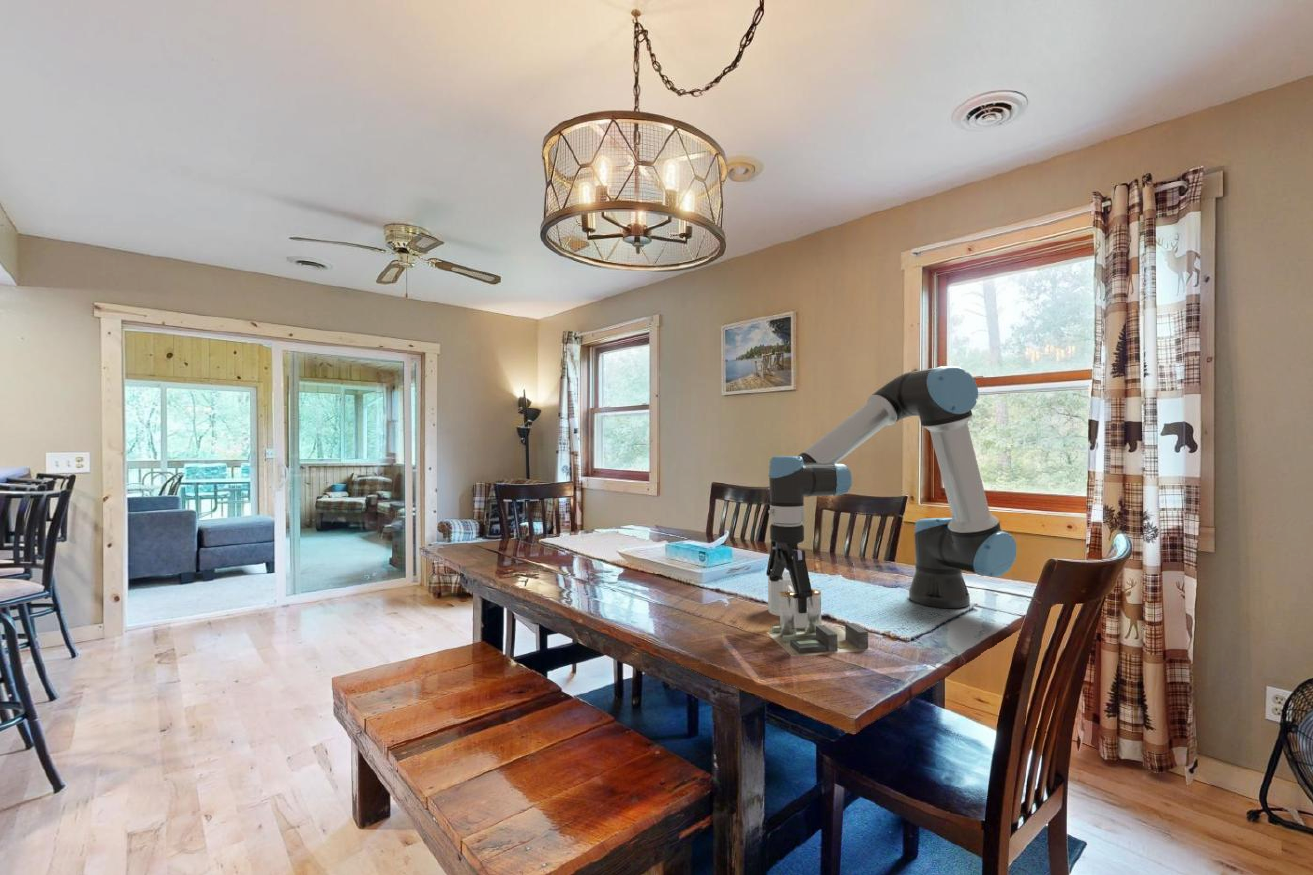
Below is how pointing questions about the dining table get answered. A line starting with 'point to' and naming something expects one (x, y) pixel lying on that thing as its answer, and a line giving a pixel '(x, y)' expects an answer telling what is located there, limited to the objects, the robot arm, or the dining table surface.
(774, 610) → the mug
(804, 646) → the grey battery holder
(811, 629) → the cell
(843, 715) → the dining table surface
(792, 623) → the cylinder
